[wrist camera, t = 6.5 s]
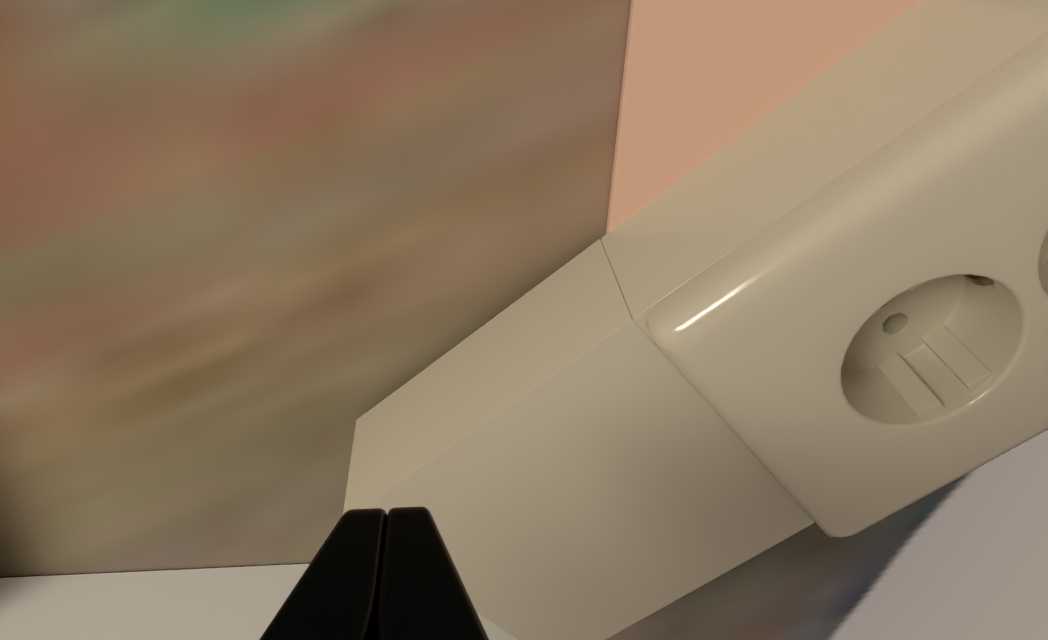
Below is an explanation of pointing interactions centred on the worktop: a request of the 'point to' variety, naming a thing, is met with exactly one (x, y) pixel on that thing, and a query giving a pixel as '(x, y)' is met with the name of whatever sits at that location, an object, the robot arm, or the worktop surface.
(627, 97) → the terracotta mat
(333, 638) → the robot arm
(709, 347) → the electrical outlet
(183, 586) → the white rectangular open frame
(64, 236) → the worktop surface
